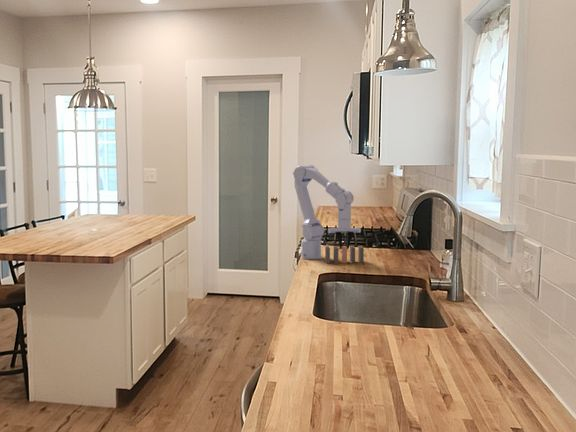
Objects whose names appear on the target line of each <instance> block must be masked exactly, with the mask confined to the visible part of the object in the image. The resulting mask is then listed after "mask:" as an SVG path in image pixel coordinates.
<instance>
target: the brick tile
mask: <svg viewBox="0 0 576 432" xmlns="http://www.w3.org/2000/svg"><path fill="white" fill-rule="evenodd" d="M341 262H342V264H348V263H347V262H348V249H347V247H346V245H342V249H341Z"/></svg>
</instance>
